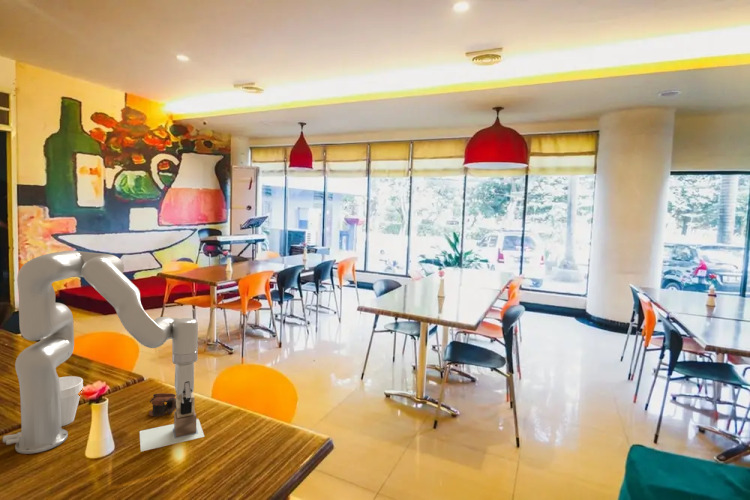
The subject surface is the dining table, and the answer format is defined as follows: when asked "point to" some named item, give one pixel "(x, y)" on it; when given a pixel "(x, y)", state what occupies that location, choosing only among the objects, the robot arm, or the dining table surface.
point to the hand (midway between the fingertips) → (185, 408)
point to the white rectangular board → (165, 436)
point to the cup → (69, 397)
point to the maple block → (178, 406)
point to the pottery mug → (159, 405)
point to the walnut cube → (184, 425)
